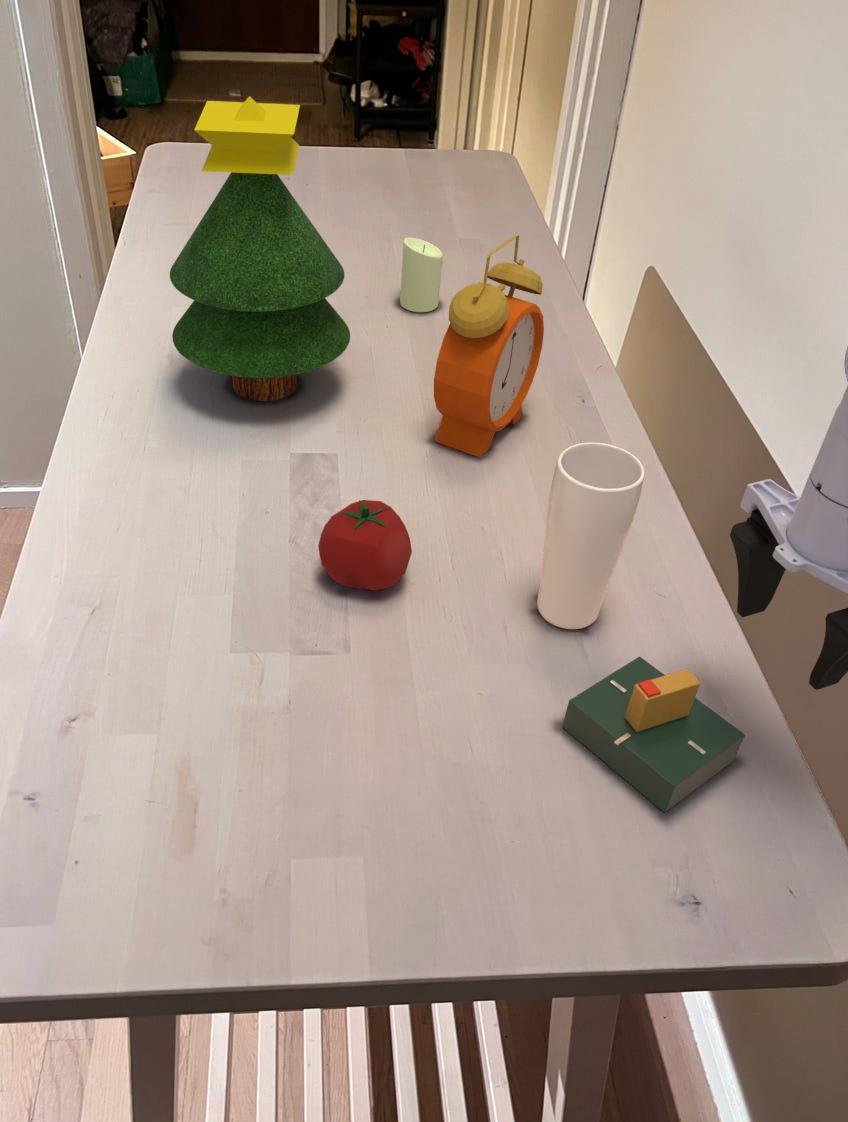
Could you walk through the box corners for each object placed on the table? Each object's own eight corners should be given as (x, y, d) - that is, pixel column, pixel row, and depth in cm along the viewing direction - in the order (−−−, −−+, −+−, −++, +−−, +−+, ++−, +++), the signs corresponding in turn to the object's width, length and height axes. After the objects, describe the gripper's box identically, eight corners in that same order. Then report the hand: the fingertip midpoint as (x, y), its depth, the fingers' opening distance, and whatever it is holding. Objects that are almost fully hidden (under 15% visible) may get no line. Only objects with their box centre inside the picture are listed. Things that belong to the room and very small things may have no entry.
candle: (434, 295, 131) (440, 233, 125) (441, 312, 127) (447, 249, 122) (397, 296, 130) (401, 233, 125) (402, 313, 127) (406, 249, 121)
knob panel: (737, 758, 74) (749, 730, 72) (660, 816, 70) (671, 788, 68) (634, 680, 80) (643, 652, 78) (558, 729, 76) (565, 701, 74)
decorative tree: (350, 347, 119) (358, 69, 99) (346, 433, 105) (354, 130, 85) (190, 341, 119) (165, 61, 99) (164, 426, 105) (128, 120, 85)
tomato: (306, 587, 87) (305, 520, 82) (345, 536, 92) (346, 471, 87) (390, 614, 85) (394, 548, 80) (424, 561, 90) (431, 496, 85)
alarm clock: (478, 466, 102) (503, 276, 88) (425, 447, 104) (442, 259, 90) (533, 411, 110) (564, 230, 96) (484, 395, 112) (507, 215, 99)
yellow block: (675, 701, 74) (688, 665, 72) (688, 716, 73) (702, 680, 71) (623, 717, 73) (635, 682, 70) (636, 733, 72) (648, 697, 69)
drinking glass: (511, 604, 86) (538, 458, 76) (566, 576, 89) (599, 431, 79) (567, 649, 82) (603, 501, 72) (622, 618, 85) (665, 472, 75)
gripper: (730, 436, 64) (677, 594, 73) (897, 572, 54) (812, 735, 64) (815, 417, 66) (753, 573, 75) (991, 544, 57) (895, 705, 66)
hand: (785, 645), depth 70 cm, fingers open, 7 cm apart
